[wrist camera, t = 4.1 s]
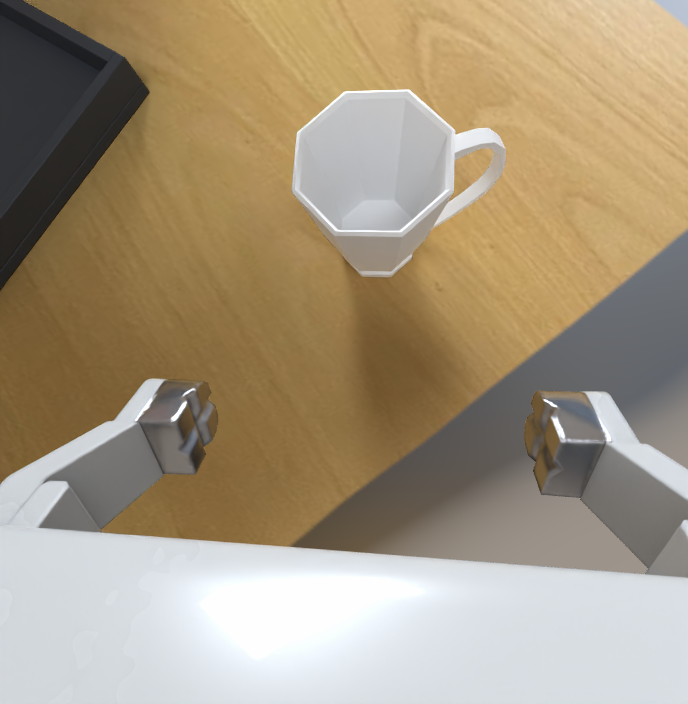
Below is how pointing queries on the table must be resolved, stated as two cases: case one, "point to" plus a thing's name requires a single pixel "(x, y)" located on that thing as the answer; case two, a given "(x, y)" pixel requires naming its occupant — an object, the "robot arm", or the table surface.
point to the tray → (52, 119)
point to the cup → (384, 175)
